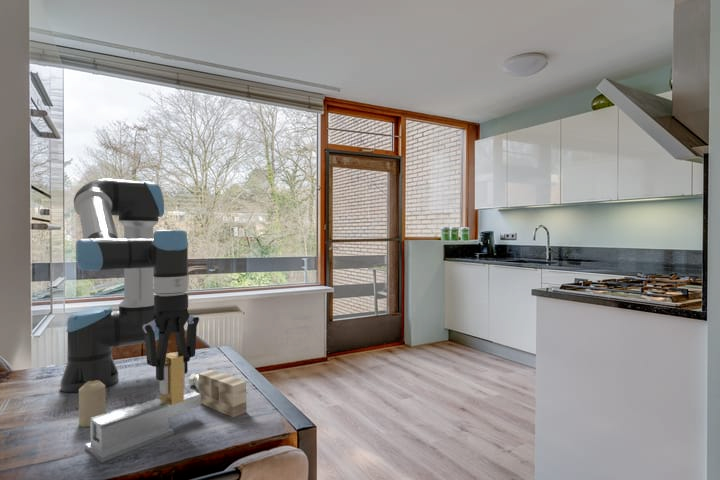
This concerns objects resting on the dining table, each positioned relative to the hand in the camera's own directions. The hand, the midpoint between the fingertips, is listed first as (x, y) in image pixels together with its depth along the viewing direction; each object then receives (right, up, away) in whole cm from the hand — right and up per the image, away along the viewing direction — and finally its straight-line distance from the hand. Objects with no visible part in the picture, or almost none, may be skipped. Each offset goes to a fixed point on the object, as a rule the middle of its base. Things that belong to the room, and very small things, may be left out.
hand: (172, 390), depth 99 cm
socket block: (+8, -8, +11) cm, 16 cm away
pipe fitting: (-3, -9, +25) cm, 27 cm away
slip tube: (-3, -6, -4) cm, 7 cm away
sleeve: (-6, -9, -8) cm, 13 cm away
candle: (-21, -9, +2) cm, 23 cm away
